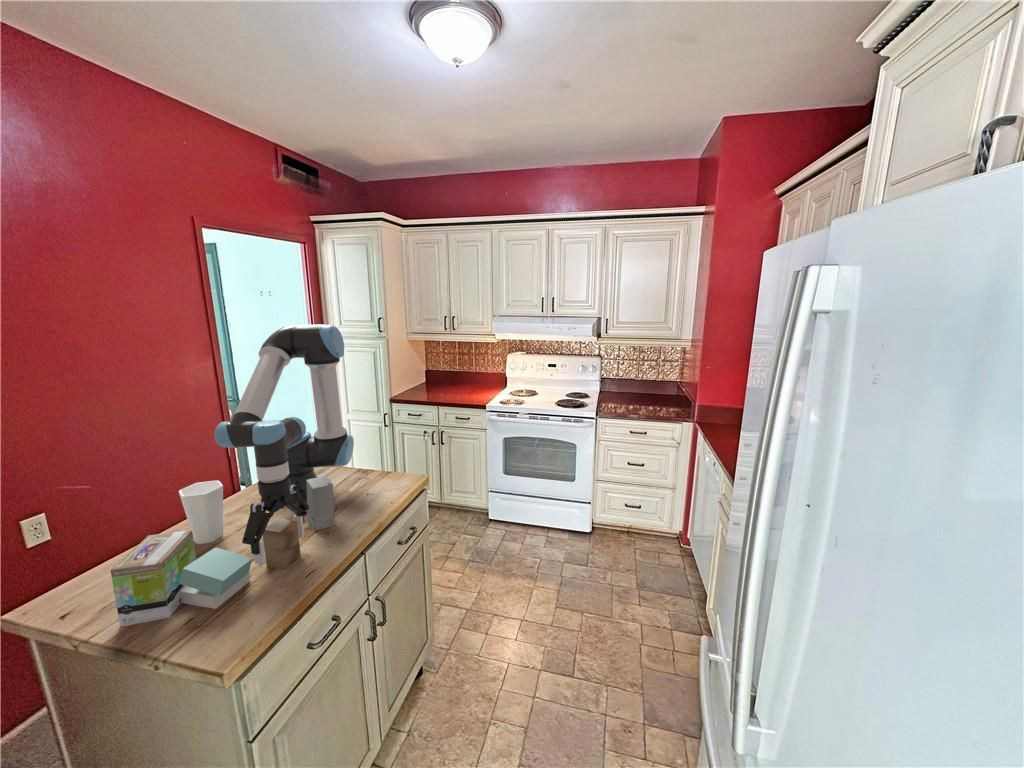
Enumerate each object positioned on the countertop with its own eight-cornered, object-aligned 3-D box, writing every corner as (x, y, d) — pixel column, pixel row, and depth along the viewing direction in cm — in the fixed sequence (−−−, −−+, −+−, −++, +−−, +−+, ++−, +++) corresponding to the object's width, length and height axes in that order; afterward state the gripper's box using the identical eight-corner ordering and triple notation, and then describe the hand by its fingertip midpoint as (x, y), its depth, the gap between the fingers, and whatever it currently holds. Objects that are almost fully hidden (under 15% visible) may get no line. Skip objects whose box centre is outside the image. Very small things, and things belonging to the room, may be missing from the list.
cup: (212, 527, 132) (204, 479, 129) (237, 530, 130) (230, 481, 127) (178, 546, 121) (169, 494, 118) (205, 550, 119) (197, 498, 116)
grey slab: (218, 578, 107) (216, 565, 107) (250, 583, 105) (248, 570, 105) (182, 605, 98) (179, 591, 97) (215, 611, 96) (213, 597, 95)
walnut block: (284, 555, 117) (279, 518, 115) (301, 558, 115) (296, 521, 113) (266, 568, 111) (261, 529, 109) (284, 571, 110) (279, 532, 107)
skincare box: (307, 523, 134) (302, 479, 131) (329, 516, 139) (325, 474, 136) (314, 534, 128) (309, 488, 125) (337, 526, 132) (333, 482, 129)
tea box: (172, 619, 93) (161, 562, 90) (119, 628, 90) (106, 570, 88) (201, 577, 107) (192, 528, 104) (156, 585, 104) (146, 534, 102)
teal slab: (212, 561, 104) (215, 547, 103) (248, 572, 104) (252, 558, 103) (179, 583, 94) (182, 568, 93) (219, 596, 94) (223, 580, 93)
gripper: (297, 460, 121) (303, 525, 124) (218, 495, 97) (229, 574, 101) (318, 463, 119) (323, 528, 123) (243, 499, 95) (252, 579, 99)
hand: (281, 549), depth 112 cm, fingers open, 13 cm apart
